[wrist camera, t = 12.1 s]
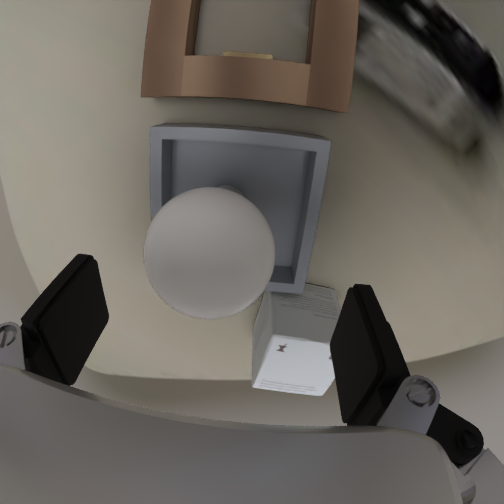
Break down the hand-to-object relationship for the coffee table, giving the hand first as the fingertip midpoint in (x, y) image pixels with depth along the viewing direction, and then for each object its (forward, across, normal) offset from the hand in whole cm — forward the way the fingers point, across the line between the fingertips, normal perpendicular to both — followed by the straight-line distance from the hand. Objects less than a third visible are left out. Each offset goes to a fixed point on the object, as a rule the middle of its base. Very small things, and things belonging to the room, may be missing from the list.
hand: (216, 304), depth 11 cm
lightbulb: (+12, +1, 0) cm, 12 cm away
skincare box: (+13, -5, +10) cm, 17 cm away
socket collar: (+13, 0, -13) cm, 19 cm away
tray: (+13, 0, +1) cm, 13 cm away
